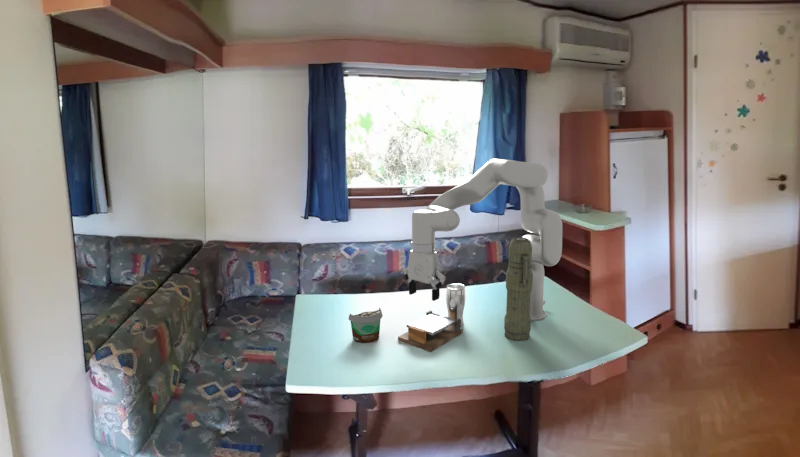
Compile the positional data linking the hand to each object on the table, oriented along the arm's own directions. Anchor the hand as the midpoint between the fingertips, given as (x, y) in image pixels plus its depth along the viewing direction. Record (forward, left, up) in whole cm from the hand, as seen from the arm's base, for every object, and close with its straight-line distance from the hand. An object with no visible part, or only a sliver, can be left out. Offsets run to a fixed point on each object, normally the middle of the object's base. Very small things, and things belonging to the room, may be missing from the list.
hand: (423, 296), depth 170 cm
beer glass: (-18, +1, -16) cm, 24 cm away
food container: (+12, -15, -16) cm, 25 cm away
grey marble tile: (-5, 0, -12) cm, 13 cm away
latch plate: (-4, 0, -16) cm, 17 cm away
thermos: (-23, +23, -16) cm, 37 cm away
